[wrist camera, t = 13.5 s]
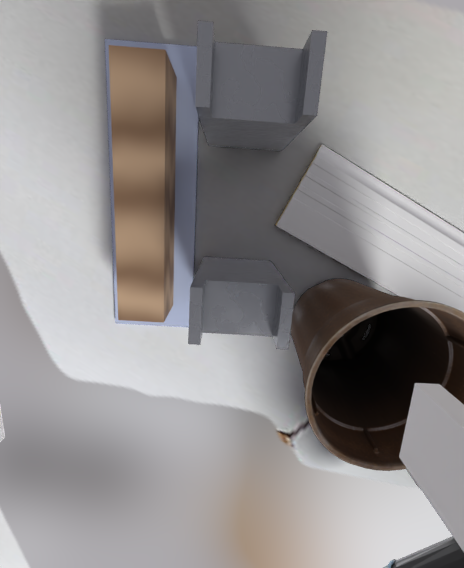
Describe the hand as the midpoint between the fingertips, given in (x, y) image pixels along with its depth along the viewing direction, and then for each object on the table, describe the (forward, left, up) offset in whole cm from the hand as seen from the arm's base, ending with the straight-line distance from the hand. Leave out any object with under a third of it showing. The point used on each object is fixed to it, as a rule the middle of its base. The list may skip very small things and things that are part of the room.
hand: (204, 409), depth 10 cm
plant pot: (-8, -16, -30) cm, 35 cm away
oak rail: (+6, +8, -29) cm, 31 cm away
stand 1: (+15, -2, -30) cm, 33 cm away
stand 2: (-3, -2, -30) cm, 30 cm away
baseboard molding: (+3, -23, -30) cm, 38 cm away
